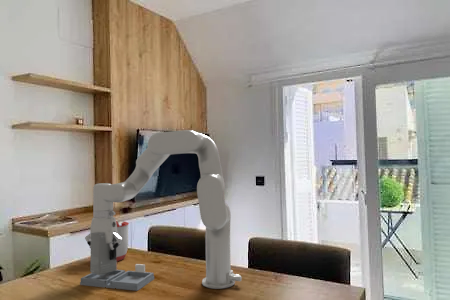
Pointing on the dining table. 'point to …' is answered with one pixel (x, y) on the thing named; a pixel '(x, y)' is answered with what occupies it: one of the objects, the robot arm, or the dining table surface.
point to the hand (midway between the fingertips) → (103, 258)
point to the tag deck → (120, 279)
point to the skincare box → (101, 255)
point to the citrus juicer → (123, 246)
